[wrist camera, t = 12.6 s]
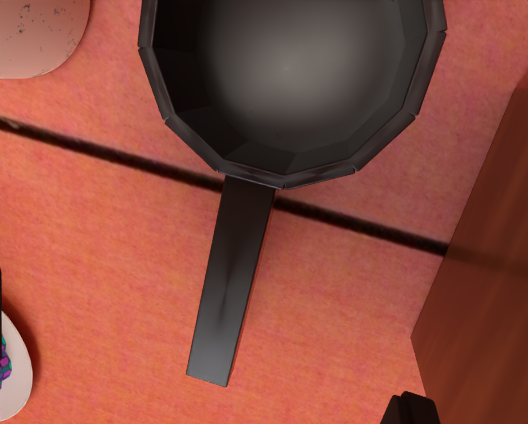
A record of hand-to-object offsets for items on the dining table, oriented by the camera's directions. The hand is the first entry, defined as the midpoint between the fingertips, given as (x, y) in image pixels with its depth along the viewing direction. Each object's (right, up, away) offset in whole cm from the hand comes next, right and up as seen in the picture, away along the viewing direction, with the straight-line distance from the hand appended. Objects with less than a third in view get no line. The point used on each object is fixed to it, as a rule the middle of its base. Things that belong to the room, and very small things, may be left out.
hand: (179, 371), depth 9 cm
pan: (+2, +6, +11) cm, 13 cm away
